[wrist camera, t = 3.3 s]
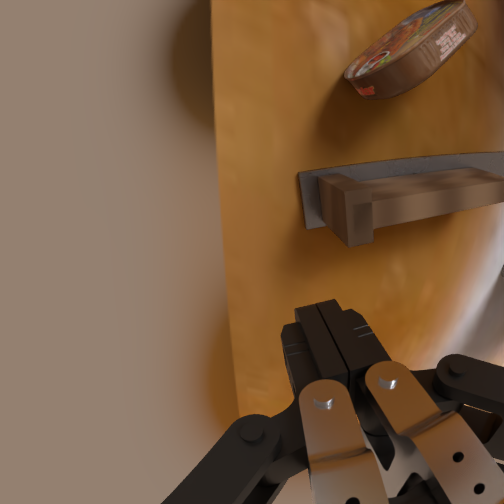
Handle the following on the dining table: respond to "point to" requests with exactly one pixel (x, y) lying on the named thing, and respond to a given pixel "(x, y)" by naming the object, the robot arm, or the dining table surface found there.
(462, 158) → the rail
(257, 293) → the dining table surface
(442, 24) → the tin
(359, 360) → the robot arm
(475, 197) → the brown wooden block
